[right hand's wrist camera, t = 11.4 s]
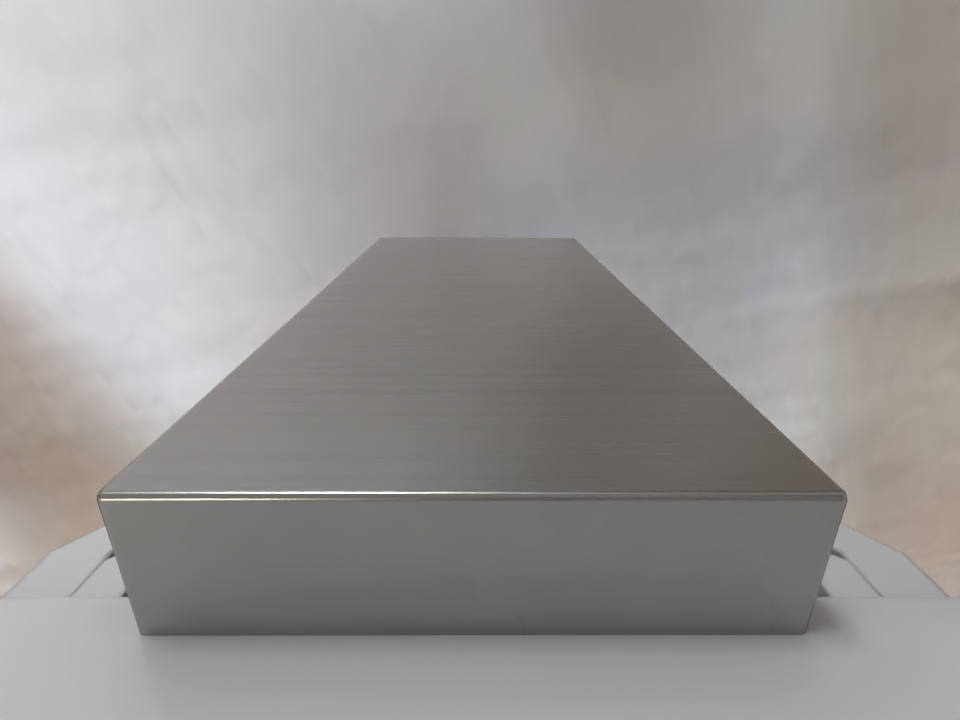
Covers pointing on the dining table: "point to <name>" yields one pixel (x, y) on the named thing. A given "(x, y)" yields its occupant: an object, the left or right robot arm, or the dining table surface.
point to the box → (473, 469)
